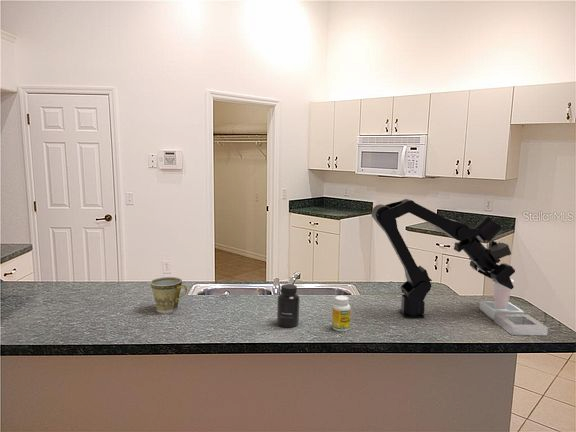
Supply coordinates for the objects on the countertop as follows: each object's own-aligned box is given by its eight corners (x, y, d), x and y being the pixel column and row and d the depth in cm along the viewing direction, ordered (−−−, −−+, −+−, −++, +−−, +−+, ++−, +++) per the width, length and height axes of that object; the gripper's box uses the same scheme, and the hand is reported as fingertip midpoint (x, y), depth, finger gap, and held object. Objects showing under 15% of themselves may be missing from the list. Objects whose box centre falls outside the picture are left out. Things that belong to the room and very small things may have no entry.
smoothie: (506, 304, 140) (510, 264, 138) (514, 311, 133) (519, 269, 131) (486, 303, 140) (490, 263, 138) (494, 310, 134) (498, 268, 132)
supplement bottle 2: (342, 323, 128) (342, 293, 126) (353, 329, 123) (354, 298, 122) (328, 327, 125) (329, 296, 124) (340, 333, 120) (341, 301, 119)
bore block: (511, 335, 121) (512, 327, 120) (493, 321, 131) (494, 313, 131) (546, 335, 121) (547, 327, 121) (526, 321, 131) (527, 314, 131)
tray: (493, 320, 132) (494, 311, 132) (479, 309, 142) (480, 301, 141) (523, 320, 132) (524, 311, 132) (507, 309, 142) (508, 301, 141)
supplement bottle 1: (283, 329, 122) (283, 290, 121) (273, 321, 128) (273, 284, 127) (303, 325, 126) (303, 287, 124) (292, 318, 132) (293, 281, 130)
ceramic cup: (144, 312, 134) (143, 283, 133) (164, 303, 144) (163, 275, 142) (177, 319, 130) (176, 288, 128) (195, 308, 139) (195, 280, 137)
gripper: (511, 240, 124) (543, 276, 126) (481, 230, 142) (509, 261, 144) (483, 265, 125) (515, 301, 127) (457, 251, 143) (485, 283, 145)
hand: (506, 285), depth 136 cm, fingers closed on smoothie, 6 cm apart
